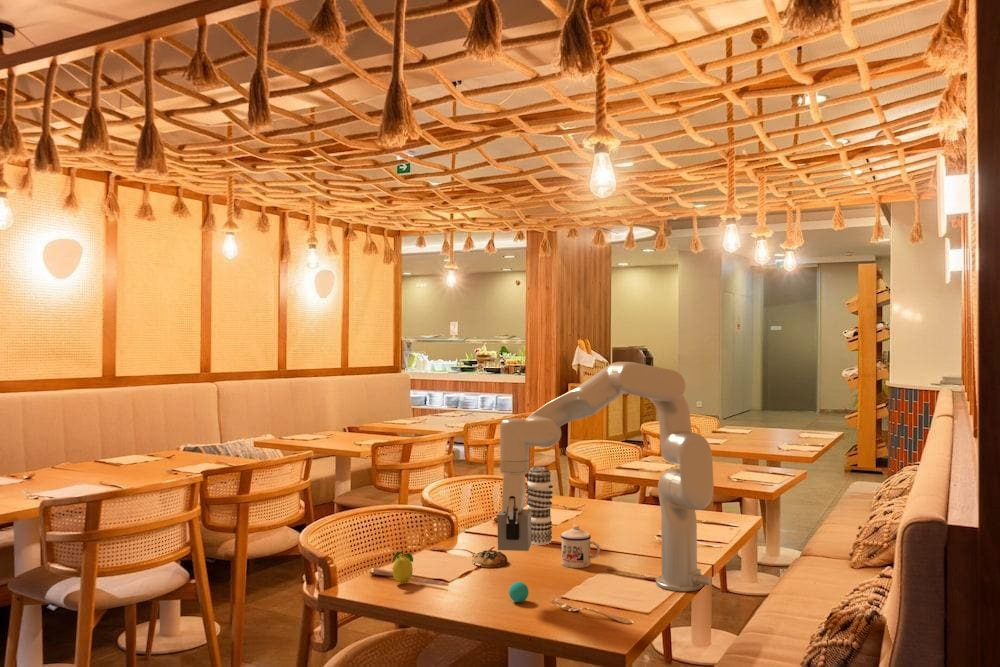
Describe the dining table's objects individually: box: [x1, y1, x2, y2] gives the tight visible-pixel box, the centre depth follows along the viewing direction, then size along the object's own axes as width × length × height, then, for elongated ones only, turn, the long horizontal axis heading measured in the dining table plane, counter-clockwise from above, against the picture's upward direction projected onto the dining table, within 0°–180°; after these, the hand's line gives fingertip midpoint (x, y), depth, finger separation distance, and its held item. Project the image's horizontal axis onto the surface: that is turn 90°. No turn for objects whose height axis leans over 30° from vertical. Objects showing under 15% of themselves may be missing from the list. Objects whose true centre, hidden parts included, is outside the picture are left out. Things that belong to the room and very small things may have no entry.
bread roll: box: [471, 549, 508, 569], centre depth 227 cm, size 11×11×5 cm
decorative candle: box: [525, 466, 554, 546], centre depth 254 cm, size 9×9×25 cm
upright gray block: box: [496, 508, 532, 552], centre depth 192 cm, size 8×8×9 cm
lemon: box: [391, 547, 414, 585], centre depth 206 cm, size 7×6×10 cm
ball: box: [508, 581, 529, 603], centre depth 191 cm, size 5×5×5 cm
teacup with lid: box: [560, 524, 601, 569], centre depth 226 cm, size 12×9×12 cm
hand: (514, 535), depth 192 cm, fingers closed on upright gray block, 7 cm apart
